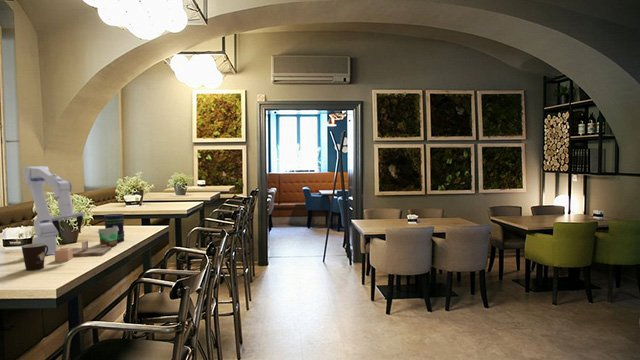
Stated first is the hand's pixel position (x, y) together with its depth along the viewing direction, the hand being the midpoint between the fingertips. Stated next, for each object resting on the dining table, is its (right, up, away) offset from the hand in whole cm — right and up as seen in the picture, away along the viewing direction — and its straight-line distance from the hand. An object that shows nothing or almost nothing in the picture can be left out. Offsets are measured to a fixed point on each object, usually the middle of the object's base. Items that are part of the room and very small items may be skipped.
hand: (70, 234), depth 206 cm
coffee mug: (-4, -12, -16) cm, 21 cm away
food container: (+6, -10, +29) cm, 31 cm away
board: (+1, -11, +12) cm, 16 cm away
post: (+1, -9, +12) cm, 15 cm away
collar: (-2, -11, -2) cm, 12 cm away
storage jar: (+1, -9, +43) cm, 43 cm away
